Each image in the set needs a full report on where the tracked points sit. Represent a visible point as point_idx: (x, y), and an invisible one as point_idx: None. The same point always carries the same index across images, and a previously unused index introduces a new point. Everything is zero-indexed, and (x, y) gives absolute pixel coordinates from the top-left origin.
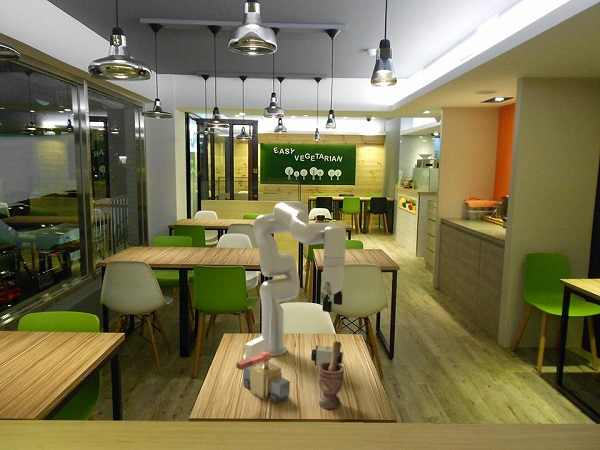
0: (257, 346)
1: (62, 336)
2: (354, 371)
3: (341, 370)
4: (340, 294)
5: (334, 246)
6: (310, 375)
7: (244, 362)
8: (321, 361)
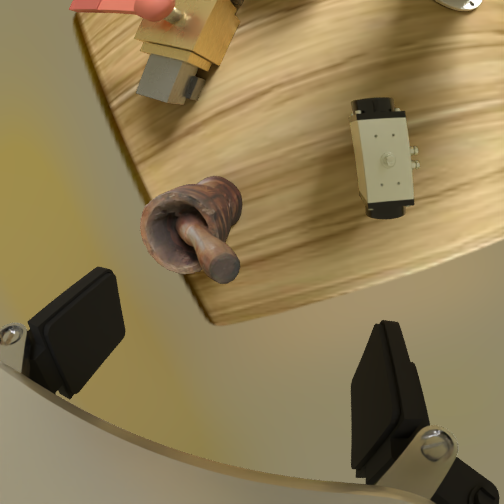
0: None
1: None
2: (419, 224)
3: (175, 270)
4: (361, 468)
5: None
6: (350, 104)
7: (81, 4)
8: (354, 140)
